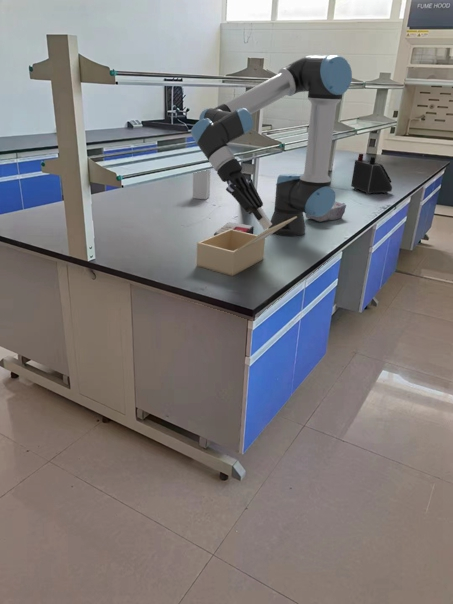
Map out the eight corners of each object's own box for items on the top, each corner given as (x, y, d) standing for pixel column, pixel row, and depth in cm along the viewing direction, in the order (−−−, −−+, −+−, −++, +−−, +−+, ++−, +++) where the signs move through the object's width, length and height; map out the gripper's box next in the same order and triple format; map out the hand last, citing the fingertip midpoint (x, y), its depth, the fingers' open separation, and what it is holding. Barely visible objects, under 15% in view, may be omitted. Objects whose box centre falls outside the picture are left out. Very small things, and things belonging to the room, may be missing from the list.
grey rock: (302, 194, 214) (326, 189, 228) (299, 219, 219) (322, 212, 233) (328, 200, 207) (351, 194, 221) (325, 225, 211) (347, 218, 225)
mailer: (229, 250, 176) (230, 229, 172) (263, 259, 169) (265, 237, 165) (196, 265, 160) (197, 242, 157) (232, 276, 154) (233, 252, 150)
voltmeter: (391, 193, 276) (398, 157, 268) (367, 195, 270) (373, 158, 262) (373, 187, 290) (379, 153, 281) (350, 188, 284) (356, 153, 275)
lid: (296, 216, 156) (297, 217, 156) (265, 236, 165) (266, 238, 165) (266, 229, 141) (267, 231, 141) (234, 251, 150) (235, 253, 150)
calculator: (213, 232, 184) (228, 220, 196) (213, 242, 186) (228, 230, 198) (240, 236, 180) (254, 224, 192) (240, 247, 182) (253, 234, 194)
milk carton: (206, 199, 242) (207, 160, 234) (192, 198, 244) (193, 159, 235) (209, 196, 249) (210, 158, 241) (196, 195, 250) (197, 157, 242)
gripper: (229, 169, 160) (269, 229, 159) (207, 175, 150) (249, 238, 149) (244, 155, 155) (286, 216, 155) (222, 159, 145) (266, 225, 144)
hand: (268, 227), depth 152 cm, fingers closed
